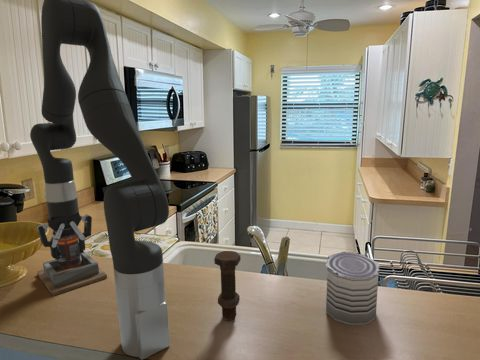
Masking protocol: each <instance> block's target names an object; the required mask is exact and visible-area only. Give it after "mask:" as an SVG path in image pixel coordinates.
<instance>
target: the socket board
mask: <svg viewBox="0 0 480 360" xmlns="http://www.w3.org/2000/svg"><path fill="white" fill-rule="evenodd" d="M81 261H82V262H81V264H80V265H79V266H77V267H75V268H71V269H61V268H60V267H59V264H58V260H56V259H55V258H54V259H51V260H48V261H44V262H42V266H43V269H41V270H37V273H36V274H37V276H38V277H39V279H40V280H41V281H42V283H43V284H44V286H45V287H46V288H47V290H48V291H49V293H50V294H51V295H52V296H53V297H54V296H56V295H61V294H63V293H66V292H69V291H72V290H75V289H78V288H81V287H84V286H86V285H90V284H92V283H96V282H99V281H102V280H105V279H108V274H107V273H106V272H104V271H103V270H102V269H101V268H100V267H99V263H98V262H97V261H96V260H95V259H93V257H91V256H90V255H89V254H88V253H87V252H86V251H84V252H83V253H81Z"/></svg>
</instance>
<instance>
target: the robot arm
mask: <svg viewBox="0 0 480 360" xmlns="http://www.w3.org/2000/svg"><path fill="white" fill-rule="evenodd" d="M41 6H42V7H41V18H40V19H41V24H40V25H41V46H42V47H41V48H42V62H43V63H42V65H43V92H42V93H43V94H42V101H41V115H42V117H43V118H44V120H46V121H47V122H46V123H43V122H42V123H36V124H34V125H33V126H32V127H31V130H30V133H29V136H30V141H31V143H32V145H33V147H34V148H35V149H34V150H35V151H36V154H37V156H38V158H39V161H40V163H41V166H42V171H43V172H42V173H43V178H44V193H45V196H44V197H45V199H46V200H45V201H46V207H47V214H48V215H47V216H48V220H47V222H46V223H43V224H40V223H39V224H36V226H35V227H36V231H37V233H38V237H39V239H40V243H41V244H42V246H43V247H44V248H47V247H48V248H49V249H50V255H51V257H52V259H54V260H55V259H56V260H58V259H59V255H58V248H57V246H56V245H57V242H58V240H59V239H60V236H61V233H62V231H63V229H66V228H71V227H72V228H73V231H74V232H75V233H76V234H77V235H78V237H79V245H80V253H83V252H85V251H86V241H85V240H86V239H87V238H89V237H91V235H92V224H93V223H92V218H93V217H92V216H91V215H90V214H84V215H81V214H80V212H79V211H80V209H79V201H78V194H77V187H76V182H75V177H74V176H75V175H74V170H73V169H74V168H73V162H72V160H70V159H68V158H64V157H55V156H53V154H52V153H51V151H57V150H58V151H59V150H68V149H71V148H72V147H73V146H75V144H76V141H77V134H76V128H75V125H74V111H75V107H76V105H75V104H76V100H78V106H79V108H80V111H81V113H82V115H81V116H82V118H83V120H84V124H85V126H86V128H87V129H88V131H89V133H90V134H91V135H92V136H93V138H95V139H96V140H97V141H98V142H99V143H100V144H101V145H102V146H103V147H105V148H106V149H107V150H109V152H111V153H112V154H113V155H114V156H115V157H116V158H118V160H120V162H121V163H122V164H123V165H124V167H125V168H126V169H127V171H128V173H129V176H130V177H131V179H132V181H130V182H125V183H120V184H119V183H118V184H114V185H110V186H109V187H108V188H106V190H105V191H104V195H103V211H104V218H105V223H106V229H107V230H106V231H107V236H108V237H107V238H108V242H109V243H108V245H109V249H110V253H111V254H110V255H111V259H112V264H113V265H112V266H113V273H114V284H115V294H116V303H117V316H118V325H119V335H120V343H121V350H122V352H123V353H124V354H126V355H128V356H130V357H134V358H139V359H140V360H144V359H147V358H150V356H152V355H154V354H157V353H159V352H160V351H163V350H165V349H167V348H168V347H170V346H171V344H170V343H171V341H170V328H169V314H168V313H169V312H168V303H167V300H166V299H167V298H166V289H165V288H166V286H165V272H164V271H165V270H164V261H163V260H164V257H163V256H164V255H163V248H162V247H161V246H160V245H159V244H157V243H155V242H153V241H149V240H147V241H146V240H136V238H135V233H136V232H140V231H144V230H148V229H152V228H154V227H157V226H161V225H164V224H165V223H166V222H167V220H168V218H169V216H170V205H169V200H168V197H167V193H166V190H165V188H164V185H163V183H162V181H161V179H160V176H159V174H158V173H157V170H156V169H155V166H154V163H153V162H152V160H151V158H150V156H149V154H148V152H147V149H146V146H145V145H144V142H143V139H142V136H141V134H140V131H139V128H138V125H137V123H136V120H135V117H134V113H133V110H132V106H131V105H130V101H129V99H128V96H127V94H126V91H125V88H124V85H123V83H122V81H121V78H120V75H119V73H118V69H117V66H116V63H115V60H114V57H113V54H112V50H111V46H110V41H109V39H108V34H107V29H106V26H105V22H104V20H103V19H104V18H103V17H102V14H101V11H100V9H99V8H98V6H97V5H96V4H95V3H93V2H91V1H89V0H43V3H42V5H41ZM62 44H64V45H70V46H71V45H72V46H81V47H85V48H86V50H87V52H88V55H89V65H88V68H87V69H86V72H85V74H84V76H83V78H82V80H81V83H80V86H79V89H78V92H77V89H76V86H75V83H74V81H73V79H72V77H71V75H70V73H69V72H68V70H67V68H66V66H65V65H64V63H63V60H62V56H61V46H62ZM81 221H82V223H84V224H83V226H84V227H83V232H82V231H81V229H80V228H79V227H78V226H79V225H80V223H81ZM48 228H50V229H51V230H52V232H51V236H50V240H48V238H47V234H46V233H47V232H48Z"/></svg>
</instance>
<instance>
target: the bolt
mask: <svg viewBox="0 0 480 360" xmlns="http://www.w3.org/2000/svg"><path fill="white" fill-rule="evenodd" d="M213 261H214V265H217V266H219V271H220V287H221V290H220V291H221V292H220V293H219V294H218V298H217V304H218V305H219V306H220V307H221V314H222V318H223V319H224V320H225V321H233V320H235V319H236V318H237V306H238V305H239V303H240V294H239V293H237V292H236V287H237V286H236V269H237V268H236V267H238V265H239V264H240V262H241V254H240V253H238V252H236V251H235V250H222V251H219V252H218V253H217V254H215V256H214V260H213Z"/></svg>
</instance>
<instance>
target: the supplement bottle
mask: <svg viewBox="0 0 480 360" xmlns="http://www.w3.org/2000/svg"><path fill="white" fill-rule="evenodd" d="M56 246H57V248H58V255H59V259H58V264H59V267H60V268H61V269H71V268H75V267H77V266H79V265H80V264H81V262H82V261H81V253H80V245H79V237H78V235H77V234H76V233H75V232H74V231H73V228H72V227H71V228H66V229H63V231H62V233H61V236H60V239H59V240H58V242H57V245H56Z"/></svg>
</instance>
